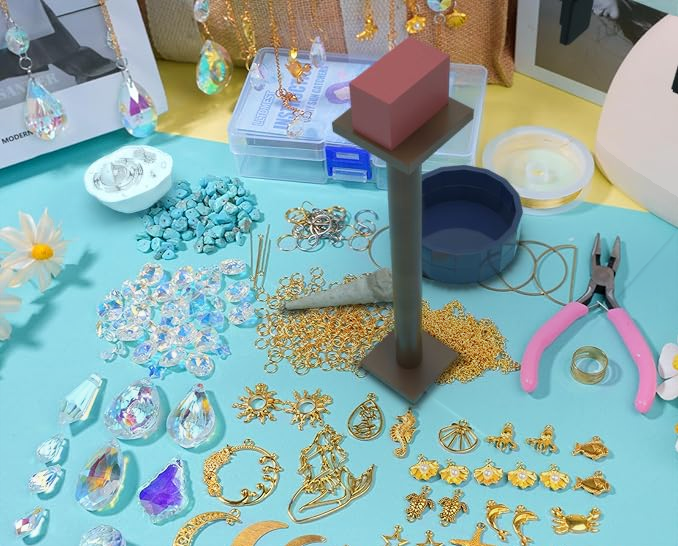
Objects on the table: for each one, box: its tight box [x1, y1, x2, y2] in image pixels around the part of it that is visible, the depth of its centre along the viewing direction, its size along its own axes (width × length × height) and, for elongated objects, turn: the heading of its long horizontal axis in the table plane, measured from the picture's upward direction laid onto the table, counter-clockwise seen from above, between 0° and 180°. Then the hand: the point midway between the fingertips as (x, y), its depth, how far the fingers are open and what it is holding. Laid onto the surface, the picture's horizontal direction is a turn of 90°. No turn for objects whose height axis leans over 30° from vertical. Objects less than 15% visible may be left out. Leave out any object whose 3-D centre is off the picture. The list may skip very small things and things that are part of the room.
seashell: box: [285, 267, 393, 310], centre depth 99 cm, size 4×16×4 cm, turn 98°
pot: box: [422, 164, 524, 285], centre depth 102 cm, size 15×15×6 cm
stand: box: [331, 96, 475, 406], centre depth 80 cm, size 8×8×36 cm
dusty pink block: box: [348, 35, 451, 151], centre depth 64 cm, size 7×4×4 cm, turn 137°
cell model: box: [83, 145, 173, 214], centre depth 111 cm, size 10×12×7 cm
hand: (627, 59), depth 63 cm, fingers open, 9 cm apart
